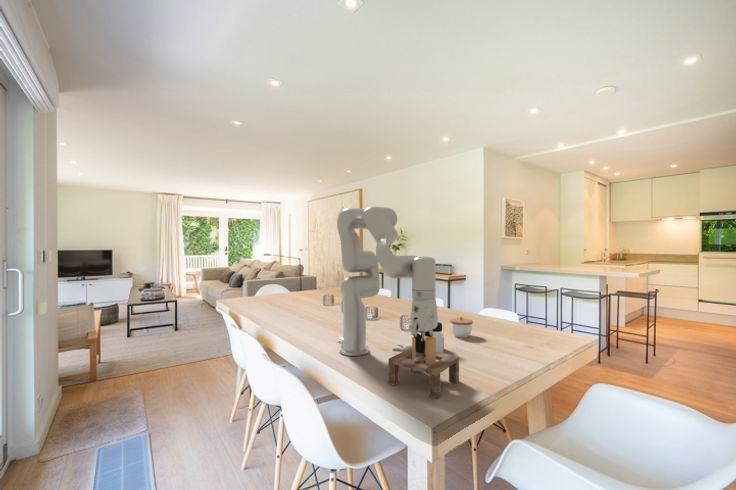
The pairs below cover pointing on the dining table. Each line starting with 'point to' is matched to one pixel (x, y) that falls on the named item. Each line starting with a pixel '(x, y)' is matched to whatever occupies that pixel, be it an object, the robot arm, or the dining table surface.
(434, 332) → the medicine bottle
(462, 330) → the lidded jar
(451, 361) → the brown square frame
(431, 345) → the orange boxy part
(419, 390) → the dining table surface
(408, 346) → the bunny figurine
